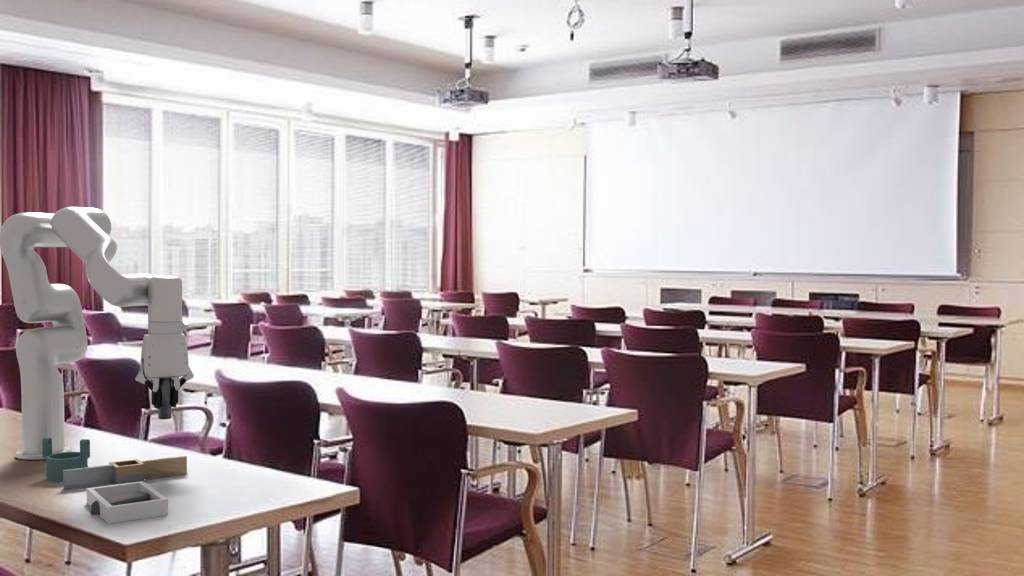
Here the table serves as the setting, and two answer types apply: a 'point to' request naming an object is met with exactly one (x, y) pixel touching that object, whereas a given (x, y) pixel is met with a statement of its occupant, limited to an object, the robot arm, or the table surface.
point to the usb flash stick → (121, 500)
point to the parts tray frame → (127, 511)
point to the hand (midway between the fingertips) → (164, 406)
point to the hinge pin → (165, 398)
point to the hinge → (124, 472)
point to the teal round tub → (64, 459)
